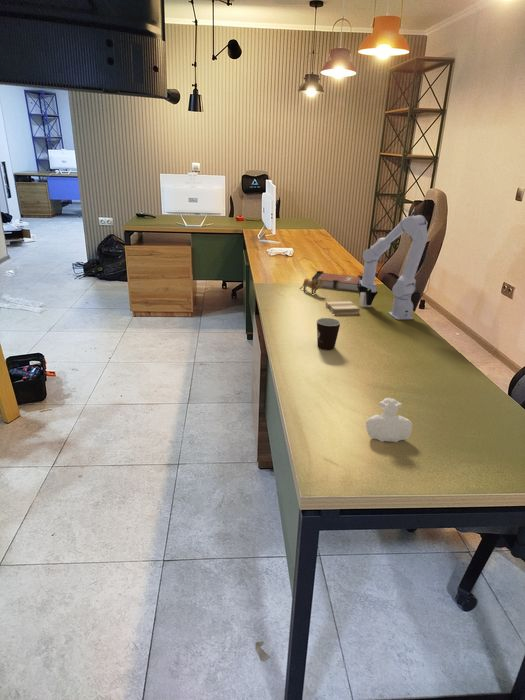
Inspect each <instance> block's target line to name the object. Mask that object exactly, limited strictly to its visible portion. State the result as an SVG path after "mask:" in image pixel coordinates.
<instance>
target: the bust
mask: <svg viewBox="0 0 525 700" xmlns="http://www.w3.org/2000/svg"><path fill="white" fill-rule="evenodd" d="M402 405H403V403H401V402H400V401H397V400H396V399H395V398H392V397H385V398H384V399H383V400H381V401H379V406H381V407H380V409H381V410H383V412H382V413H381V414H373V415H372V416H370V417H369V418H368V419H367V420H366V421H365V425H366V427H365V428H366V432H367V435H368V437H369V438H371V439H374V440H378V441H380V442H390V443H391V442H392V443H397V442H399V441H404V440H407V439H408V438H409V437H410V435H411V434H412V431H413V422H412V421H411V420H410V419H408V418H407V417H404V416H402V415H397V414H396V413H398V412H399V409H401V406H402Z"/></svg>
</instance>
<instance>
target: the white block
mask: <svg viewBox="0 0 525 700" xmlns="http://www.w3.org/2000/svg"><path fill="white" fill-rule="evenodd" d="M358 301H359V302H358V305H359V304H360V305H359V306H361V308H371V307H372V304H373V303H372V304H371V305H367V304H366V293H365V292H360V297H359V300H358Z"/></svg>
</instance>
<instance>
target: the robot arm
mask: <svg viewBox="0 0 525 700" xmlns="http://www.w3.org/2000/svg"><path fill="white" fill-rule="evenodd" d="M428 224H429V223H428V221H427V219H426V217H425V216H424V215H422V214H417V215H408V216H406V217H404V218H403V219H402V220H400V221H399V222H398V223H397V225H396V226H395V227H394V228H393V229H392V230H391V231H390V232H389V233H388V234H387V235H386V236H385V237H380V238H377V239H376V242H375V243H374V244H373V245H370V248H366V249H365V250H364V251H363V253H362V259H363V262H364V263H363V271H362V276H363V277H362V280H360V281H359V284H360V285H357V288H358V291H357V292H358V294H359V298H360V292H365V293H366V304H367V305H371V304H373V301H374V299H375V298H376V296H377V294H378V291H377V289H378V288H377V287H376V286H377V283H375V282H376V281H375V280H376V272H377V265H378V261H379V260H380V259H381V258H382V257H381V256H382V255H383V254H384V253H385V252H386V251H388V250H389V249H390V248H391V243H393V242H394V241H395V240H396V239H397V238H399V237H400V236H401V235H403V234H404V233H406V234H407V235H409V236H410V238H411V239H412V243H411V246H410V249H409V252H408V255H407V259H406V261H405V264H404V268H403V269H402V270H403V271H402V273H401V275H400V277H398V278H397V280H396V283H395V284H394V285H393V287H392V289H391V290H392V294H393V303H392V309H391V311H388V312H387V313H388V314H389V315H390V316H391V317H392V318H394V319H395V320H398V321H399V320H414V317H413V313H414V311H413V310H414V303H413V301H412V295H413V294H414V293H415V291H416V282H417V280H416V279H415V276H416V274H417V270H418V268H419V264H420V262H421V259H422V256H423V253H424V251H425V247H426V245H427V242H428V237H429V236H428ZM371 306H372V305H371Z"/></svg>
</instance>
